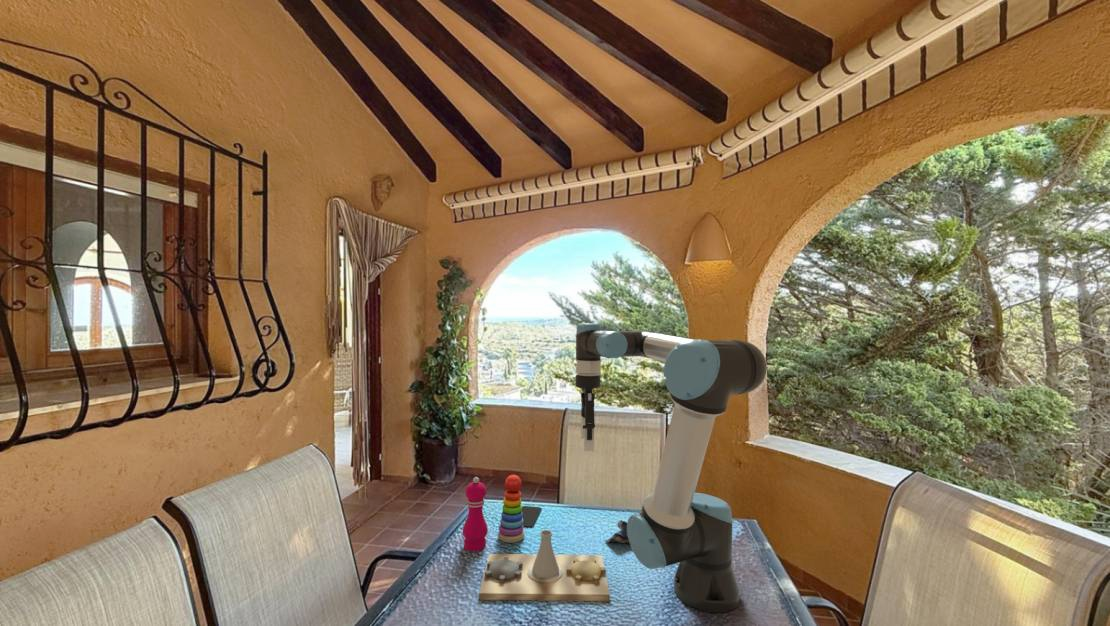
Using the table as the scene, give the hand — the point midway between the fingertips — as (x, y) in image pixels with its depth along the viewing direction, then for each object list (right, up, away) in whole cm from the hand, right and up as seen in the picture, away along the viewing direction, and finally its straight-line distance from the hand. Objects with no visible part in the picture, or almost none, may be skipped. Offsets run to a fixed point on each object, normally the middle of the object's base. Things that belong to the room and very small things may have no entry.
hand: (587, 444), depth 138 cm
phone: (-19, -29, +15) cm, 38 cm away
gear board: (-12, -28, -21) cm, 37 cm away
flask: (-12, -27, -21) cm, 36 cm away
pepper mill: (-33, -28, -5) cm, 44 cm away
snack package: (+12, -29, 0) cm, 32 cm away
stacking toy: (-23, -29, 0) cm, 37 cm away
